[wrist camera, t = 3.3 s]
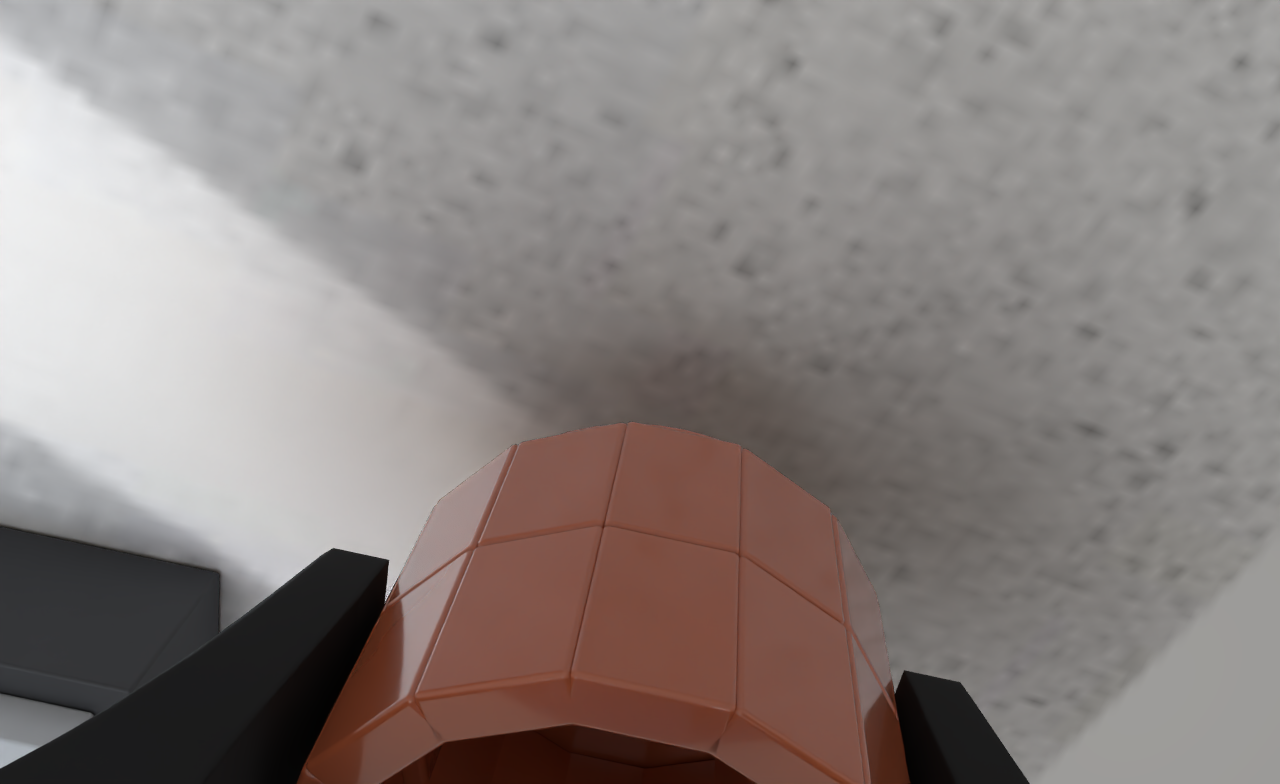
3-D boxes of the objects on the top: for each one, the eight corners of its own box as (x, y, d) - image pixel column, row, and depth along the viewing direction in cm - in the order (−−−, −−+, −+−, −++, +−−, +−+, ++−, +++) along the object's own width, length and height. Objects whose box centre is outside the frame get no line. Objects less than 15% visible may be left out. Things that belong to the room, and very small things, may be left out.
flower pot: (810, 814, 14) (831, 1192, 10) (396, 726, 14) (253, 1068, 10) (937, 462, 12) (1033, 772, 8) (438, 356, 12) (274, 608, 8)
